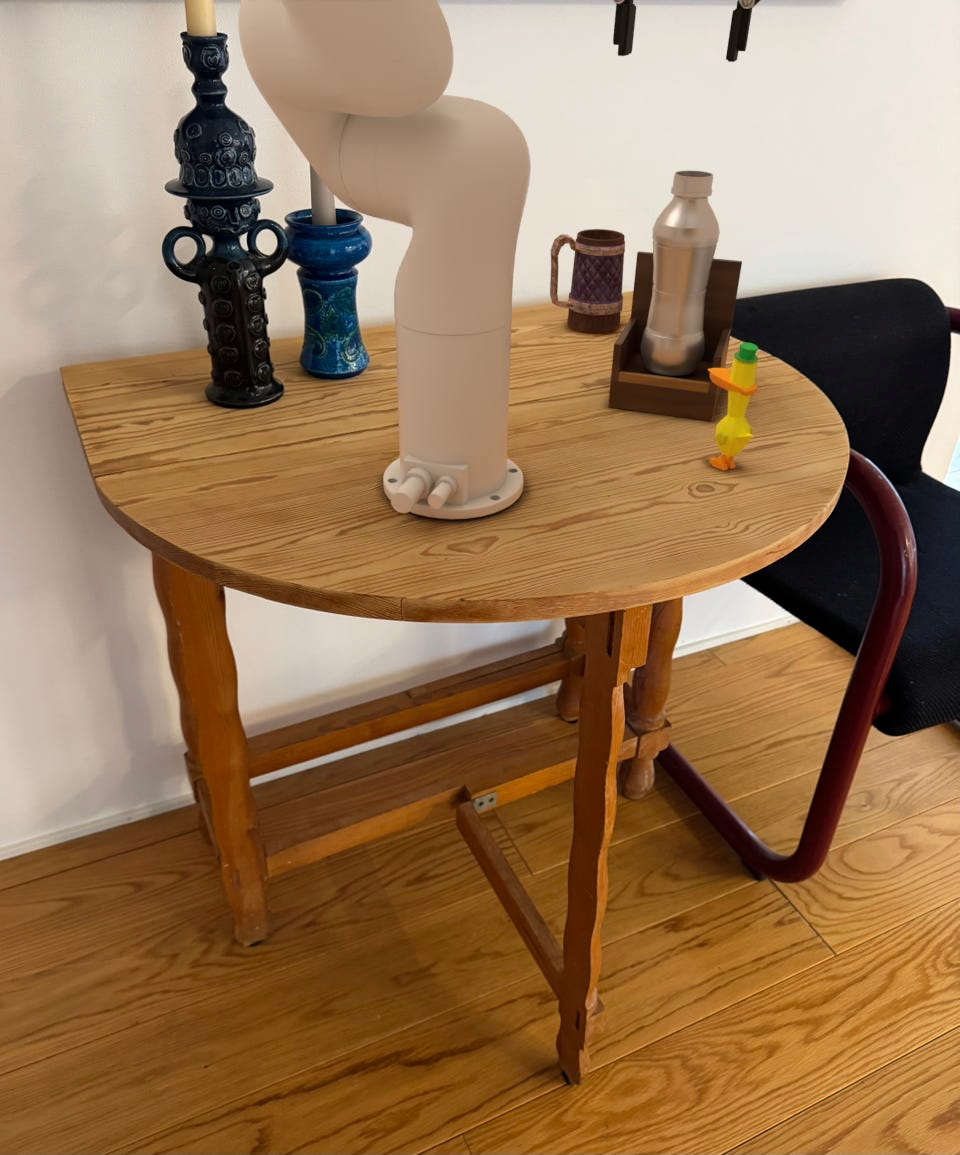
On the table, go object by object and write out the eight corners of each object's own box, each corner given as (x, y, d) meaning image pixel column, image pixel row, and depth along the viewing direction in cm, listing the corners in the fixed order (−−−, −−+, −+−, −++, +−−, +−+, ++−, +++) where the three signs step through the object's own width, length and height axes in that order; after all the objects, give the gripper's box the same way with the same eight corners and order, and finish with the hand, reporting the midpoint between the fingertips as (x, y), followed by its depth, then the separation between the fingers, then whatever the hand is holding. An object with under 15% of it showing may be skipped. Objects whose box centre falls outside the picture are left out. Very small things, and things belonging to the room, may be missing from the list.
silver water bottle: (705, 383, 100) (736, 181, 89) (641, 382, 100) (663, 179, 89) (695, 362, 105) (722, 168, 94) (634, 360, 105) (654, 167, 94)
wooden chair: (711, 421, 99) (733, 286, 91) (608, 407, 102) (620, 275, 94) (721, 387, 107) (742, 260, 99) (625, 375, 110) (638, 251, 102)
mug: (606, 315, 128) (614, 223, 122) (629, 332, 122) (639, 236, 116) (536, 322, 125) (540, 228, 119) (556, 339, 120) (562, 241, 113)
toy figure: (683, 454, 92) (701, 333, 86) (712, 447, 94) (731, 327, 87) (731, 482, 87) (754, 357, 81) (760, 474, 89) (784, 350, 82)
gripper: (591, -190, 76) (573, 55, 85) (816, -193, 71) (772, 65, 80) (611, -176, 82) (592, 51, 91) (819, -179, 77) (778, 60, 86)
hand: (677, 57), depth 85 cm, fingers open, 9 cm apart
